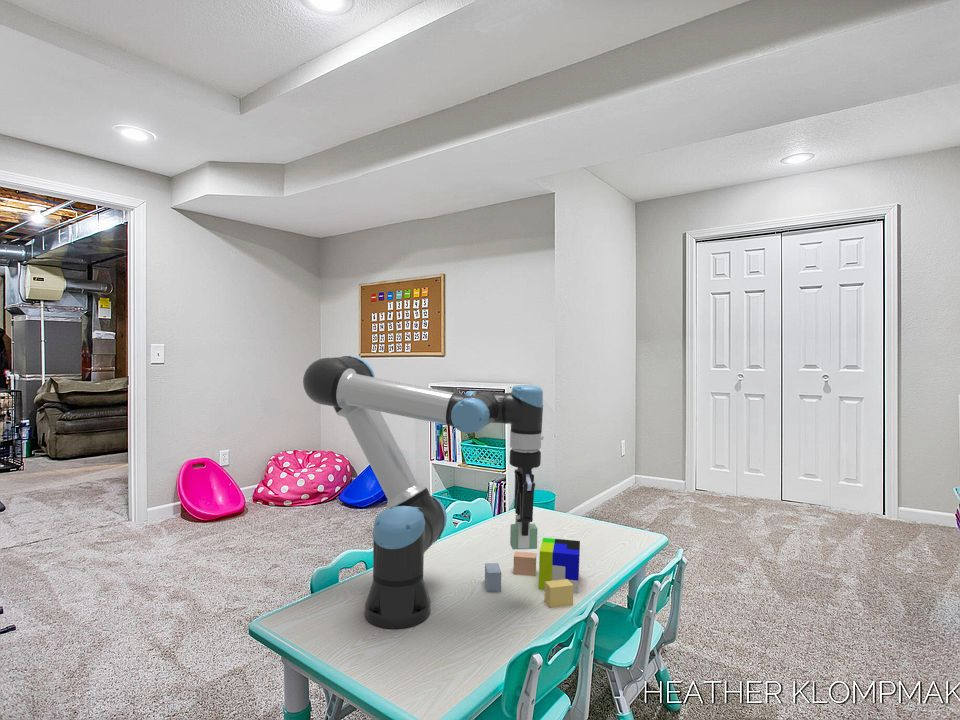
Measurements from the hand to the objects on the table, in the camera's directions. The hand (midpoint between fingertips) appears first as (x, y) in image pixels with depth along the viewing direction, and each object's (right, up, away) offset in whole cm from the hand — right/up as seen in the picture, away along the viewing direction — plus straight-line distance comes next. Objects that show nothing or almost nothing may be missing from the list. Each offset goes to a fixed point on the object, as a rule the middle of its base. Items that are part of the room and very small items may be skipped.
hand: (521, 544), depth 136 cm
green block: (0, -1, 0) cm, 1 cm away
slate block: (-7, -14, +9) cm, 18 cm away
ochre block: (+9, -15, +1) cm, 17 cm away
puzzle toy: (+11, -14, +12) cm, 22 cm away
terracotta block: (+2, -14, +18) cm, 23 cm away
